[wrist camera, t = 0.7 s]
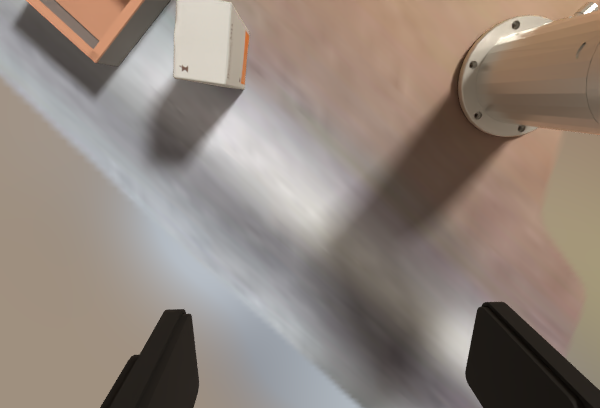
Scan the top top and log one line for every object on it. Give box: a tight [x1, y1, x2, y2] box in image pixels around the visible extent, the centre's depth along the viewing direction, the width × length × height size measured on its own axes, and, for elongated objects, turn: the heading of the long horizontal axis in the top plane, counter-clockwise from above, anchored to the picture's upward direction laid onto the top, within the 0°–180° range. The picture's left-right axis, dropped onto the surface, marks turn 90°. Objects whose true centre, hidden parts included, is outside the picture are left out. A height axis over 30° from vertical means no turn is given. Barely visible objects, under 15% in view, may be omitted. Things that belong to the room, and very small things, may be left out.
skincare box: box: [173, 0, 250, 90], centre depth 31 cm, size 6×4×12 cm
